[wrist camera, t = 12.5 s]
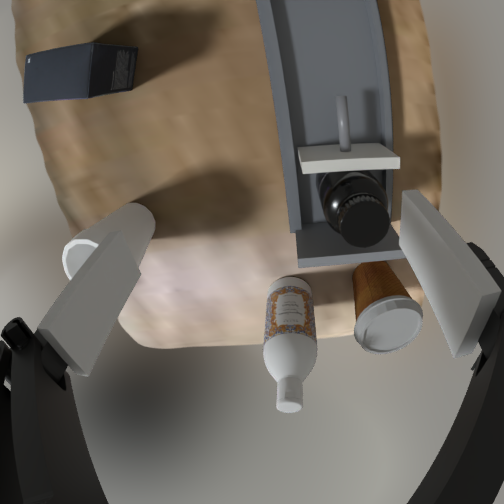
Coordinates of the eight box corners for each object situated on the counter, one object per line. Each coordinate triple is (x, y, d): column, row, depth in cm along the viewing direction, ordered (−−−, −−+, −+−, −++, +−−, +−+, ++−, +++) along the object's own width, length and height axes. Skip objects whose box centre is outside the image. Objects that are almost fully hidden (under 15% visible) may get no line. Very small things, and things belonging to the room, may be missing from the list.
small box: (71, 93, 30) (20, 106, 22) (75, 51, 27) (24, 53, 18) (133, 93, 31) (86, 101, 22) (139, 45, 27) (93, 39, 18)
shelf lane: (251, -22, 22) (242, -51, 14) (368, -25, 19) (391, -49, 12) (290, 230, 39) (292, 268, 32) (388, 222, 37) (410, 257, 30)
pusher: (291, 97, 29) (294, 100, 23) (376, 94, 27) (398, 98, 22) (298, 157, 33) (302, 174, 27) (379, 152, 31) (399, 168, 25)
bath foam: (313, 274, 43) (325, 392, 26) (310, 308, 47) (317, 419, 30) (267, 275, 44) (256, 392, 27) (268, 308, 48) (259, 419, 31)
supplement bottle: (308, 159, 33) (321, 197, 23) (362, 148, 32) (398, 180, 22) (320, 210, 37) (335, 264, 26) (371, 199, 35) (403, 248, 25)
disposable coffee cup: (362, 240, 39) (385, 296, 29) (410, 261, 40) (439, 316, 30) (330, 288, 44) (341, 348, 34) (377, 304, 45) (395, 361, 35)
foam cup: (106, 234, 43) (62, 284, 32) (115, 183, 38) (62, 226, 27) (157, 257, 44) (124, 315, 33) (172, 207, 39) (134, 260, 28)
